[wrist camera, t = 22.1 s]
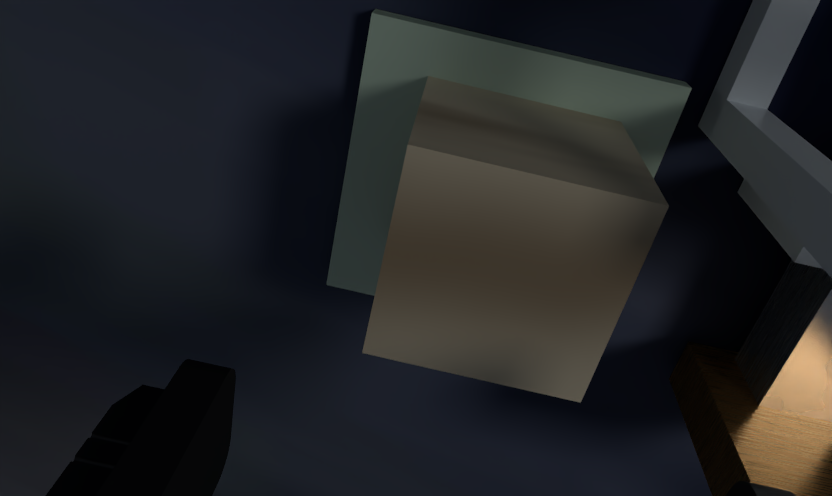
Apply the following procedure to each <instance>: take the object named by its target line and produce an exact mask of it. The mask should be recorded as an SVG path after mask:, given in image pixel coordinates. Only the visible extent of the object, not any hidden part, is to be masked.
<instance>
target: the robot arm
mask: <svg viewBox="0 0 832 496" xmlns="http://www.w3.org/2000/svg"><path fill="white" fill-rule="evenodd" d="M235 379H236V375H235V370H234V369H231V368H227V367H222V366H217V365H213V364H208V363H204V362H199V361H194V360H190V359H187V360H185V361H184V362H183V363H182V364H181V366H180V367H179V369H178V370H177V372H176V373H175V375H174V376H173V378H172V379H171V381H170V382H169V384H168V386H167V387H166V389H165V390H164V389H160V388H155V387H150V386H146V385H142V386H140V387H139V388H137V389H136V390H134V391H133V392H131V393H130V394H128V395H127V396H125V397H124V398H122V399H121V400H119V401H118V402H116V403H115V404H113V405H112V406H111V407H110V409H109V410H108V412H107V413H106V414H105V416H104V417H103V418H102V420H101V421H100V422H99V424H98V425H97V427H96V428H95V429H94V431H93V432H92V436H91V438H88V439H87V440H86V442H85V443H84V444H83V446H82V447H81V448H80V450H79V451H78V452H77V454H76V455H75V459H74V461H73V462H70V463H69V465H68V466H67V467H66V469H65V470H64V471H63V473H62V474H61V476H60V477H59V478H58V480H57V481H56V482H55V484H54V485H53V486H52V488H51V489H50V491H49V492H48V493H47V495H46V496H212V494H213V492H214V490H215V488H216V486H217V484H218V481H219V479H220V477H221V474H222V471H223V468H224V465H225V462H226V459H227V455H228V451H229V446H230V439H231V428H232V416H233V404H234V392H235ZM726 496H796V495H795V494H793V493H792V492H790V491H787V490H783V489H778V488H773V487H769V486H764V485H759V484H755V483H750V482H746V481H738V482H736V483H735V484H734V485H733V486H732V487H731V488H730V490H729V491H728V493H727V495H726Z"/></svg>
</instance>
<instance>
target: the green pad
mask: <svg viewBox="0 0 832 496" xmlns="http://www.w3.org/2000/svg"><path fill="white" fill-rule="evenodd" d="M428 76H431V77H435V78H439V79H443V80H448V81H452V82H456V83H460V84H464V85H469V86H473V87H477V88H481V89H485V90H490V91H494V92H498V93H502V94H506V95H511V96H515V97H519V98H523V99H527V100H532V101H536V102H540V103H544V104H548V105H553V106H557V107H561V108H565V109H569V110H574V111H578V112H582V113H586V114H590V115H595V116H599V117H603V118H607V119H611V120H616V121H620V122H622V124H623V126H624V128H625V130H626V131H627V133H628V135H629V137H630V138H631V140H632V142H633V144H634V145H635V147H636V149H637V151H638V152H639V154H640V156H641V158H642V159H643V161H644V163H645V165H646V166H647V168H648V170H649V172H650V173H651V175H652V177H653V179H654V177H655V175H656V172H657V170H658V167H659V165H660V163H661V160H662V158H663V156H664V153H665V151H666V148H667V146H668V144H669V141H670V139H671V137H672V134H673V132H674V129H675V127H676V125H677V122H678V120H679V118H680V115H681V113H682V111H683V108H684V106H685V103H686V101H687V99H688V96H689V94H690V92H691V89H692V88H691V87H690V86H689V85H688V84H687V83H686V82H684V81H680V80H676V79H671V78H667V77H663V76H659V75H654V74H650V73H646V72H642V71H637V70H633V69H629V68H625V67H620V66H616V65H612V64H608V63H603V62H599V61H595V60H591V59H586V58H582V57H578V56H574V55H569V54H565V53H561V52H557V51H552V50H548V49H544V48H540V47H535V46H531V45H527V44H523V43H518V42H514V41H510V40H506V39H501V38H497V37H493V36H489V35H484V34H480V33H476V32H472V31H467V30H463V29H459V28H455V27H450V26H446V25H442V24H438V23H434V22H429V21H425V20H421V19H417V18H412V17H408V16H404V15H400V14H395V13H391V12H387V11H383V10H378V9H375V10H374V11H373V12H372V15H371V20H370V26H369V32H368V38H367V44H366V50H365V56H364V62H363V68H362V74H361V80H360V86H359V92H358V98H357V104H356V110H355V116H354V122H353V128H352V134H351V140H350V146H349V152H348V158H347V164H346V170H345V176H344V182H343V188H342V194H341V200H340V206H339V212H338V218H337V224H336V230H335V236H334V242H333V248H332V254H331V260H330V266H329V272H328V278H327V283H326V285H329V286H333V287H338V288H342V289H346V290H351V291H355V292H360V293H364V294H369V295H373V296H375V292H376V287H377V283H378V278H379V274H380V269H381V265H382V260H383V255H384V251H385V246H386V242H387V237H388V232H389V228H390V223H391V219H392V214H393V210H394V205H395V200H396V196H397V191H398V187H399V182H400V177H401V173H402V168H403V164H404V159H405V155H406V150H407V145H408V142H409V138H410V135H411V132H412V128H413V125H414V122H415V118H416V115H417V112H418V108H419V105H420V102H421V98H422V95H423V92H424V88H425V85H426V82H427V78H428Z"/></svg>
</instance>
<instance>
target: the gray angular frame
mask: <svg viewBox="0 0 832 496" xmlns="http://www.w3.org/2000/svg"><path fill="white" fill-rule="evenodd" d="M819 2H820V0H753V1H752V4H751V6H750V8H749V10H748V13H747V15H746V17H745V19H744V22H743V24H742V26H741V29H740V31H739V33H738V35H737V38H736V40H735V42H734V45H733V47H732V49H731V51H730V54H729V56H728V58H727V61H726V63H725V65H724V67H723V70H722V72H721V74H720V76H719V79H718V81H717V83H716V86H715V88H714V90H713V92H712V95H711V97H710V99H709V102H708V104H707V106H706V108H705V111H704V113H703V115H702V117H701V120H700V122H699V124H698V127H699V128H700V129H701V130H702V131H703V132H704V133H705V135H706V136H707V137H708V138H709V139H710V140H711V141H712V143H713V144H714V145H715V146H716V147H717V148H718V149H719V151H720V152H721V153H722V154H723V155H724V156H725V157H726V158H727V160H728V161H729V162H730V163H731V164H732V165H733V166H734V168H735V169H736V170H737V171H738V172H739V173H740V174H741V176H742V177H743V178H744V180H743V182H742V184H741V186H740V188H739V190H738V194H739V195H740V196H741V197H742V199H743V200H744V201H745V202H746V203H747V205H748V206H749V207H750V208H751V210H752V211H753V212H754V213H755V215H756V216H757V217H758V218H759V219H760V221H761V222H762V223H763V224H764V226H765V227H766V228H767V229H768V230H769V232H770V233H771V234H772V235H773V237H774V238H775V239H776V240H777V241H778V243H779V244H780V245H781V246H782V248H783V249H784V250H785V251H786V252H787V254H788V255H789V256H790V257H791V259H792V260H793V261H794V262H795V263H799V264H804V265H808V266H813V267H817V268H821V269H824V270H825V271H826V272H827V274H828V275H829V276H830V277H831V278H832V161H831V160H830V159H829V158H827V157H826V156H825V155H824V154H822V153H821V152H820V151H819V150H817V149H816V148H815V147H814V146H812V145H811V144H810V143H809V142H807V141H806V140H805V139H804V138H802V137H801V136H800V135H799V134H797V133H796V132H795V131H794V130H792V129H791V128H790V127H789V126H787V125H786V124H785V123H784V122H782V121H781V120H780V119H779V118H777V117H776V116H775V115H774V114H772V113H771V112H770V111H769V110H767V109H768V107H769V105H770V103H771V100H772V98H773V96H774V94H775V92H776V90H777V88H778V86H779V84H780V82H781V80H782V78H783V76H784V74H785V72H786V70H787V68H788V66H789V64H790V61H791V59H792V57H793V55H794V53H795V51H796V49H797V47H798V45H799V43H800V41H801V39H802V37H803V35H804V33H805V31H806V29H807V27H808V25H809V22H810V20H811V18H812V16H813V14H814V12H815V10H816V8H817V6H818V4H819Z"/></svg>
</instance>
